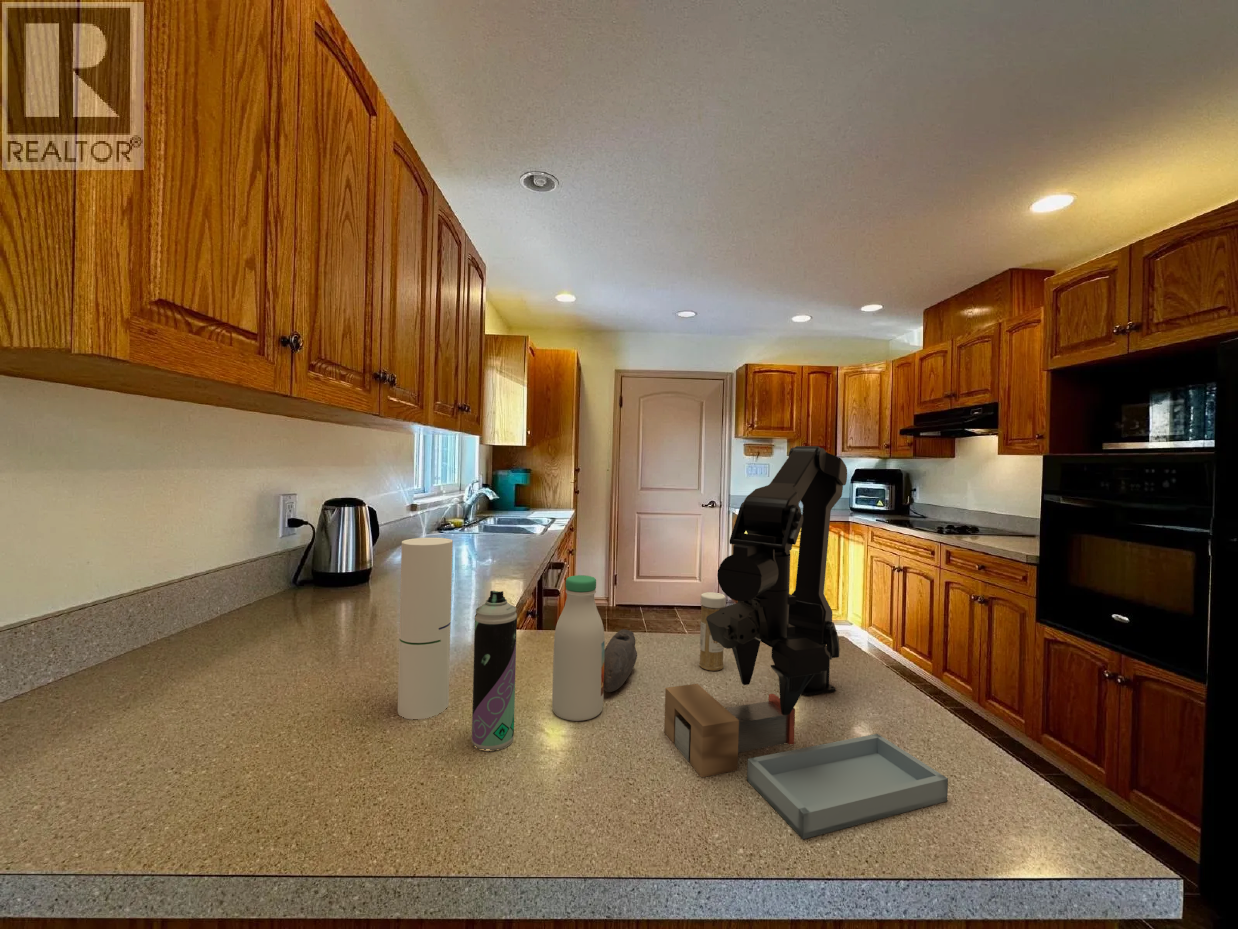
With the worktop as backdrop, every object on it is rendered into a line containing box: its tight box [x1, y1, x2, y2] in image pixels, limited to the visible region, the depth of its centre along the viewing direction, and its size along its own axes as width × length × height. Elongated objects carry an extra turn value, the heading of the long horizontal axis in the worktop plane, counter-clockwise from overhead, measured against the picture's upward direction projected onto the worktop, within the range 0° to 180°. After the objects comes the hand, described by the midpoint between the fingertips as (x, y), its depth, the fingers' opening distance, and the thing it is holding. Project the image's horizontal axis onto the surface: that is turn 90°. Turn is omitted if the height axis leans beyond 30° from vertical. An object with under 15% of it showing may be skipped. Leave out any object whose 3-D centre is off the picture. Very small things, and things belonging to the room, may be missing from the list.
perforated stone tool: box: [604, 628, 638, 693], centre depth 88 cm, size 15×5×7 cm, turn 165°
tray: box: [746, 733, 949, 840], centre depth 60 cm, size 20×10×3 cm, turn 109°
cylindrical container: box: [397, 537, 453, 720], centre depth 77 cm, size 7×7×25 cm
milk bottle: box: [551, 574, 606, 722], centre depth 78 cm, size 8×8×20 cm
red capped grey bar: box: [674, 693, 796, 763], centre depth 69 cm, size 16×5×5 cm, turn 109°
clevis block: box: [663, 683, 739, 778], centre depth 68 cm, size 5×11×6 cm, turn 19°
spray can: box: [471, 590, 518, 750], centre depth 69 cm, size 6×6×20 cm
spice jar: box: [698, 591, 727, 672], centre depth 95 cm, size 5×5×13 cm
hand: (764, 698), depth 71 cm, fingers open, 9 cm apart
